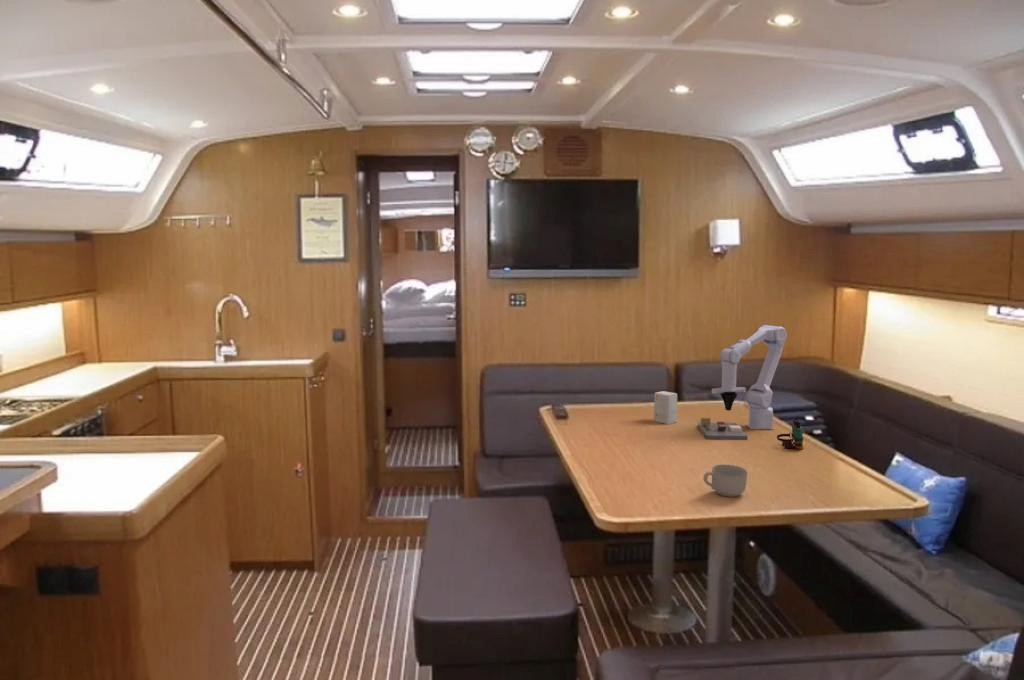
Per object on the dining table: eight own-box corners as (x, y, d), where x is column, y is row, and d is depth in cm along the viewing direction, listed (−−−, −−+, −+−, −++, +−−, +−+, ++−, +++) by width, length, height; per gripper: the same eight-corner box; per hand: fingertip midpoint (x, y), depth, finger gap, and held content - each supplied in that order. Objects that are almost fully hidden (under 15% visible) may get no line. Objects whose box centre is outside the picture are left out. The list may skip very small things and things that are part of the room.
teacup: (740, 488, 239) (740, 463, 238) (751, 499, 229) (752, 474, 228) (697, 488, 239) (697, 464, 238) (707, 500, 228) (707, 474, 227)
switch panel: (735, 426, 320) (735, 420, 320) (747, 439, 299) (747, 433, 298) (697, 425, 322) (698, 420, 322) (706, 439, 300) (706, 432, 300)
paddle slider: (709, 424, 316) (709, 417, 316) (710, 425, 314) (710, 418, 314) (699, 424, 317) (700, 417, 316) (700, 425, 315) (700, 418, 314)
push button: (739, 430, 310) (739, 425, 309) (741, 432, 305) (741, 428, 305) (728, 430, 310) (728, 425, 310) (730, 432, 306) (730, 427, 306)
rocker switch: (723, 424, 310) (724, 421, 310) (726, 429, 306) (726, 426, 305) (717, 424, 310) (717, 421, 310) (719, 429, 306) (719, 426, 305)
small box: (677, 422, 329) (677, 393, 327) (668, 424, 325) (668, 395, 323) (662, 419, 335) (663, 390, 333) (653, 421, 331) (654, 392, 329)
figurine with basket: (774, 419, 292) (801, 417, 290) (776, 445, 293) (803, 444, 291) (777, 424, 283) (805, 422, 281) (779, 451, 284) (807, 450, 282)
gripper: (718, 380, 302) (717, 413, 304) (750, 378, 306) (749, 411, 308) (709, 377, 309) (708, 409, 311) (741, 375, 313) (740, 407, 314)
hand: (728, 410), depth 310 cm, fingers closed
